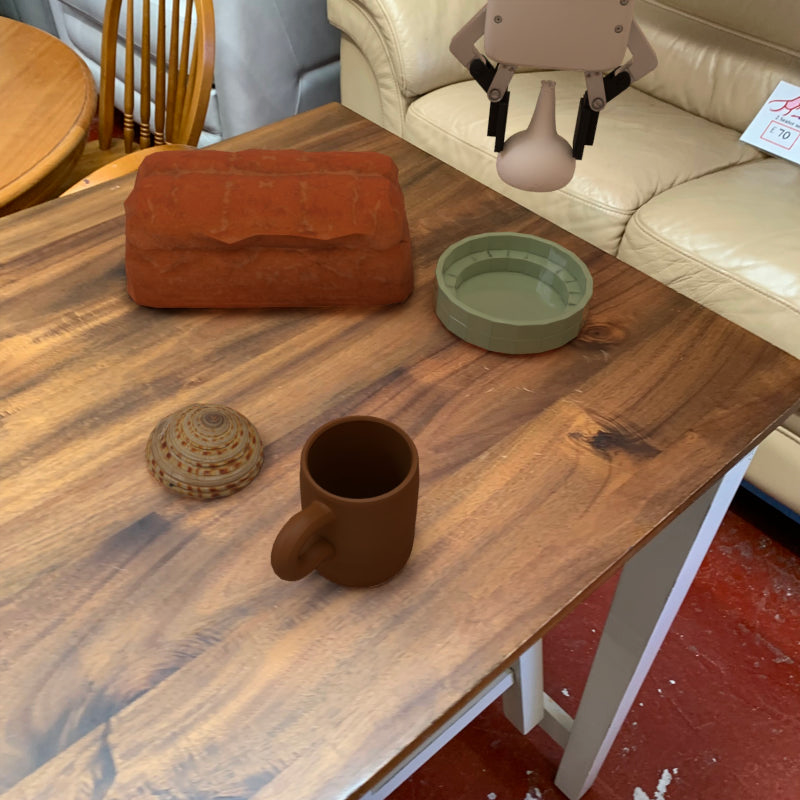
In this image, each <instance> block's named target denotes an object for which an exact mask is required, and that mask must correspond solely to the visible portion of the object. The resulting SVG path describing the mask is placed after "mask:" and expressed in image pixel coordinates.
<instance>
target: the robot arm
mask: <svg viewBox="0 0 800 800" xmlns="http://www.w3.org/2000/svg"><path fill="white" fill-rule="evenodd" d="M635 4H636V0H487V1H486V3H485V4H484V5H483V6H482V7H481V8H480V9H479V10H478V11H477V12H476V13H475V14H474V15H473V16H472V17H471V18H470V19H469V20H468V21H467V22H466V23H465V24H464V25H463V26H462V27H461V28H460V29H459V30H458V31H456V33H455V34H454V35H453V36H452V38H451V39H450V42H449V47H448V50H449V52H450V53H451V54H452V55H453V56H454V57H455V59H456V60H457V61H458V62H459V63H460V64H461V65H462V66H463V67H464V68H466V69H467V70H468V72H469V74H470V76H471V77H472V78H473V79H474V80H475V81H476V83H477V84H478V85H479V86H480V88H481V89H482V90H483V91H484V92H485V94H486V98H487V100H488V101H489V112H488V120H487V121H488V122H487V129H486V130H487V131H486V137H491V138H494V148H493V153H497V154H498V153H500V151H503V148H504V142H505V141H506V139H505V138H506V130H507V123H508V121H507V120H508V114H509V107H510V106H509V105H510V99H511V98H510V97H511V91H510V90H509V85H510V83H511V81H512V79H513V77H514V75H515V73H516V71H517V68H518V67H522V68H533V69H542V70H543V69H545V70H557V71H568V72H569V71H570V72H579V73H580V72H581V73H582V72H583V73H584V81H585V85H586V90H585V91H584V93H583V97H580V98H579V104H578V109H577V115H576V120H575V126H574V131H573V137H572V149H573V158H575V160H576V161H583V156H584V151H585V147H586V146H589V147H593V146H594V144H595V143H594V142H595V138H596V132H597V127H598V123H599V118H600V117H599V116H600V112H601V111H603V110H604V109H605V108H606V105H607V104H608V103H609V102H611V101H612V100H614V99H615V98H616V97H618V96H619V95H620V94H622V93H623V92H624V91H626V90H627V89H628V88H629V87H630V86H631V84H634V83H635V82H638V81H640V80H641V79H642V78H643V77H645V76H647V75H648V74H650V73H651V72H653V71H654V70H656V69H657V67H658V64H659V61H658V56H657V53H656V51H655V49H654V48H653V47H652V45H651V43H650V41H649V40H648V38H647V36H646V35H645V34H644V32H643V30H642V28H641V27H640V25H639V23H638V22H637V20H636V19H635V17H634V16H633V15H634V10H635ZM482 37H483V50H484V54H485V55H484V54H483V53H481V52H480V51H479V49H478V48H477V47H476V46H475V43H477V42H478V41H479V40H480V39H481V38H482ZM627 49H628V50H629V52H630V53H631V55H632V57H631V58H630V59H628V61H626V62H625V63H624V64H623V65H621V64H622V63H623V61H624V58H625V56H626V52H627ZM490 60H491V61H493V62H494V63H495V65H493V64H492V63H491V62H490ZM605 72H606V73H607V72H609V73H608V74H606V75H605V76H604V73H605Z"/></svg>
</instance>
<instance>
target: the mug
mask: <svg viewBox="0 0 800 800" xmlns="http://www.w3.org/2000/svg"><path fill="white" fill-rule="evenodd" d="M299 459H300V460H299V493H300V507H301V510H300V511H298V512H296V513H295V514H293V515H292V516H291V517H290V518H289V519H288V520H287V521H286V522H285V523H284V524H283V526H282V527H281V529H280V530H279V532H278V533H277V535H276V537H275V539H274V541H273V542H272V543H273V544H272V548H271V551H270V565H271V568H272V570H273V573H274V575H276V576H277V578H279V579H280V580H282V581H285V582H288V583H289V582H297V581H301V580H304V578H306V577H307V576H309V575H310V574H312V573H313V572H314V571H316V572H317V573H318V574H319V575H320V576H321V577H323V578H324V579H325V580H328V581H329V582H331V583H333V584H334V585H338V586H341V587H345V588H350V589H369V588H373V587H377V586H380V585H382V584H384V583H386V582H389V581H391V579H393V578H395V577H397V575H398V574H400V573H401V571H402V570H403V569H404V568H405V566H406V565H407V563H408V561H409V560H410V558H411V555H412V552H413V550H414V549H413V548H414V542H415V534H416V524H417V522H416V521H417V516H418V505H419V504H418V503H419V492H420V457H419V452H418V448H417V446H416V444H415V442H414V440H413V439H412V438H411V436H410V435H409V434H408V433H407V432H406V430H404V429H403V428H401V427H400V425H397V424H395V423H394V422H391V421H389V420H387V419H384V418H381V417H378V416H373V415H365V414H363V415H361V414H358V415H357V414H356V415H348V416H343V417H337V418H335V419H331V420H330V421H327V422H326V423H324V424H322V425H321V426H319V427H318V428H316V429H315V430H313V432H312V433H311V434H310V435H309V437H308V438H307V440H306V441H305V443H304V445H303V446H302V450H301V452H300V458H299Z"/></svg>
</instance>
